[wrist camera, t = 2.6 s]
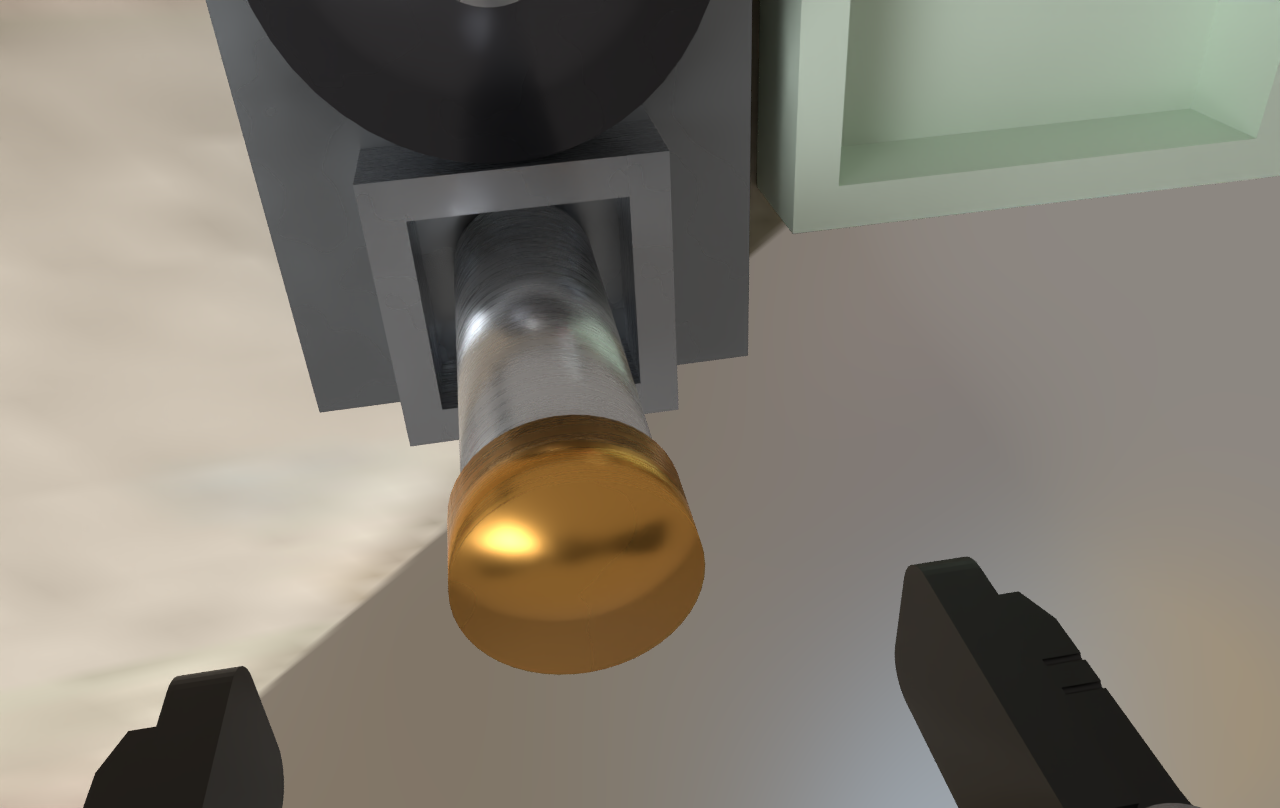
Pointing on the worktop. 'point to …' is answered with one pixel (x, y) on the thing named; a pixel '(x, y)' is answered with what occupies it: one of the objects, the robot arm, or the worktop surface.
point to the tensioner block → (494, 172)
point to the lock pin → (556, 462)
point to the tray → (1008, 103)
